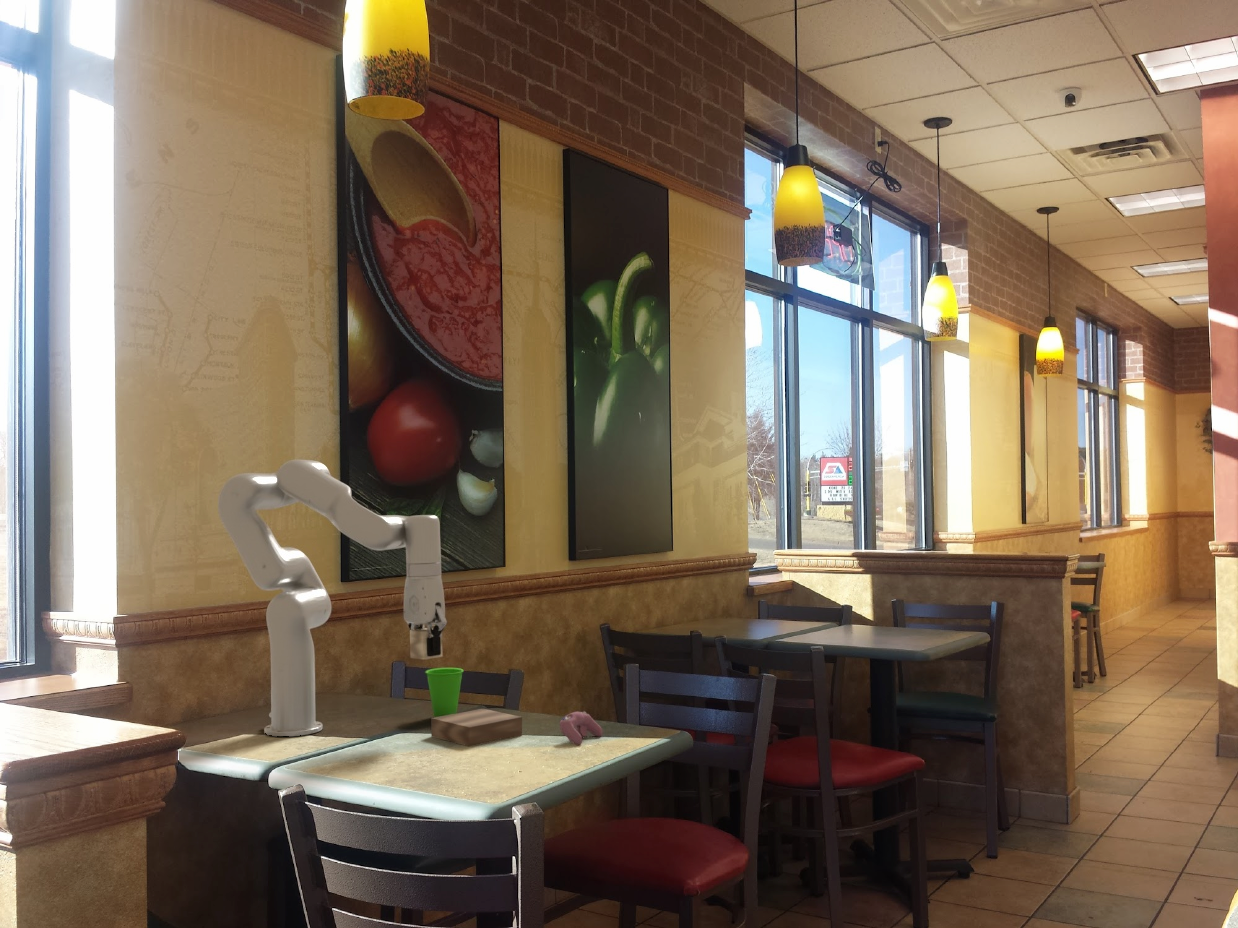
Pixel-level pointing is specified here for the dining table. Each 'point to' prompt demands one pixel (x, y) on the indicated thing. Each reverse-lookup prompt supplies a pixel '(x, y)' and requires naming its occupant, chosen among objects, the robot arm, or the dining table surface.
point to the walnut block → (476, 727)
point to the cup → (444, 690)
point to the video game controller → (579, 727)
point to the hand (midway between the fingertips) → (426, 653)
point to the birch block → (421, 644)
